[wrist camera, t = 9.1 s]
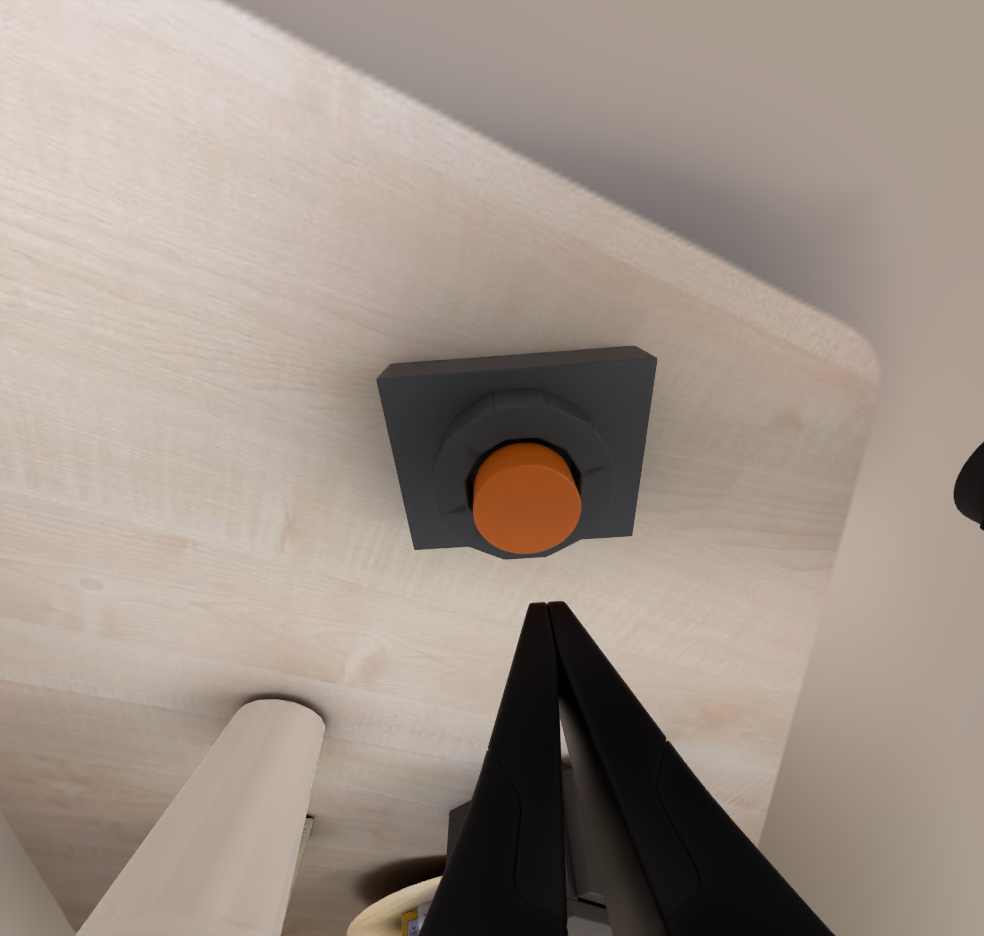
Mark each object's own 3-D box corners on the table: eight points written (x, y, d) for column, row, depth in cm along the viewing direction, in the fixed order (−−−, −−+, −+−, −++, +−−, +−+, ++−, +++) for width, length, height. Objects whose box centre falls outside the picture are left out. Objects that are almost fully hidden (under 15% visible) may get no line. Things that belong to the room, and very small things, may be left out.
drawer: (609, 747, 29) (642, 875, 23) (687, 787, 32) (733, 907, 26) (469, 818, 34) (465, 934, 28) (547, 845, 38) (558, 954, 32)
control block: (635, 345, 15) (681, 370, 11) (617, 508, 19) (647, 564, 15) (389, 363, 15) (360, 394, 12) (421, 521, 19) (406, 579, 16)
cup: (373, 742, 29) (301, 1048, 18) (257, 758, 30) (119, 1058, 19) (316, 667, 25) (169, 1016, 13) (181, 689, 26) (-65, 1033, 14)
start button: (572, 438, 13) (584, 461, 11) (569, 521, 15) (579, 551, 13) (469, 445, 13) (467, 469, 11) (478, 527, 15) (477, 558, 13)
